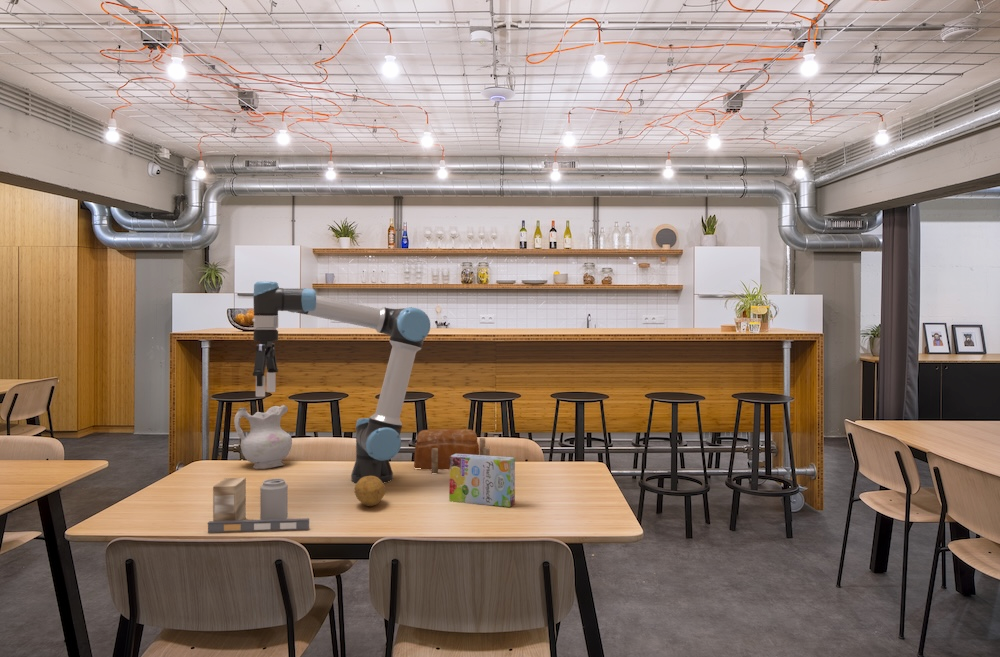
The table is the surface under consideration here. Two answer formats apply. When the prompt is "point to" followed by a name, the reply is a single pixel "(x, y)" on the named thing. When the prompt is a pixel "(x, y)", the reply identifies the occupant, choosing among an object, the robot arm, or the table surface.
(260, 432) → the ceramic pitcher
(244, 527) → the rail
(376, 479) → the potato
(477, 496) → the snack box
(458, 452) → the bread
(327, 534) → the table surface
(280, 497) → the can
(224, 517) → the kraft box
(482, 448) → the twin upright posts
